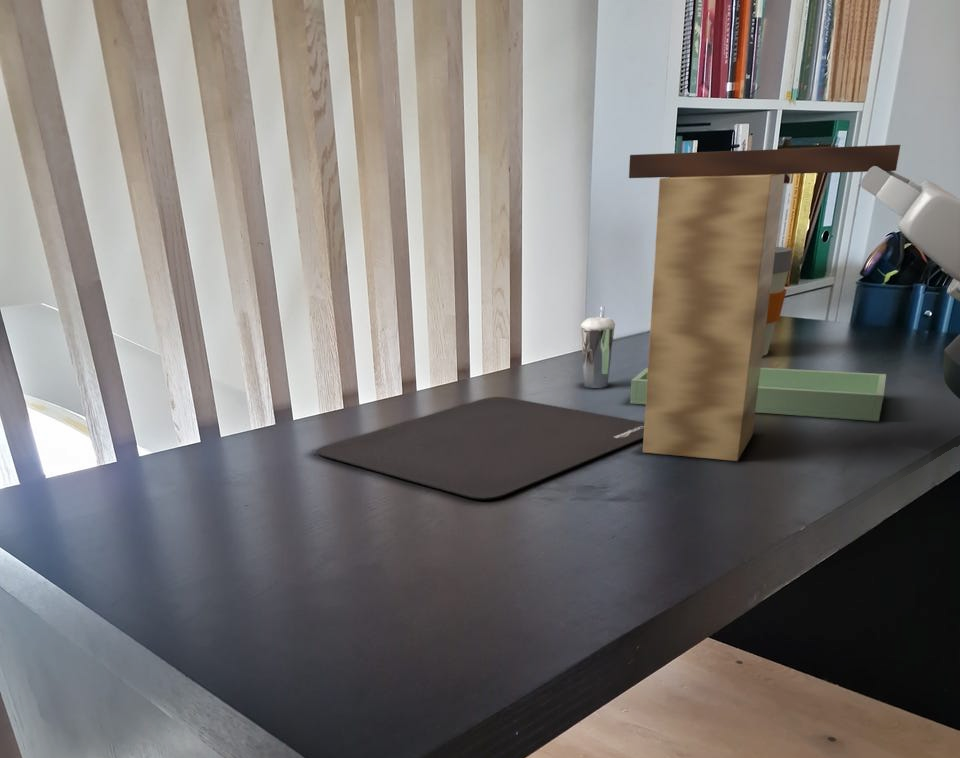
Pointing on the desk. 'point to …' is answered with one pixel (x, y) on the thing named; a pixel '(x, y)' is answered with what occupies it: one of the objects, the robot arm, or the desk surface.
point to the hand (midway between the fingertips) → (868, 172)
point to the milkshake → (597, 350)
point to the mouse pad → (487, 446)
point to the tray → (807, 393)
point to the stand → (709, 312)
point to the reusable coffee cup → (777, 292)
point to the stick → (765, 161)
